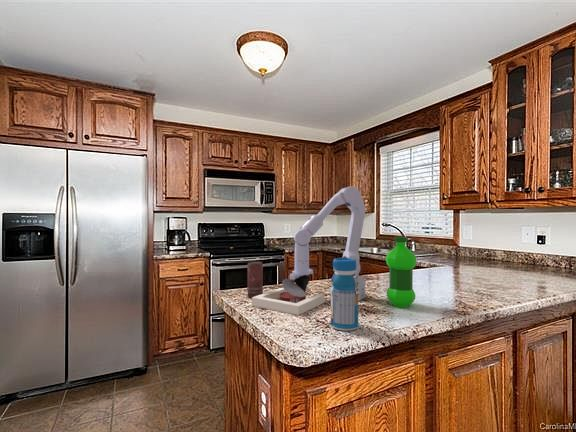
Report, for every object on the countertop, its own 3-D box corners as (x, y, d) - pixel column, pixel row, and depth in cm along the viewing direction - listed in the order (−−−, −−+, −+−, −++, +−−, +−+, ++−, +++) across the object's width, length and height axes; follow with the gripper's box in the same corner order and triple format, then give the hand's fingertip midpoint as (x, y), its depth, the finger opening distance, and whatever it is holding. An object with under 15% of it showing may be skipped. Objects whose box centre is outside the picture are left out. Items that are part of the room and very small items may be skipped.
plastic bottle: (403, 311, 110) (404, 238, 110) (380, 304, 119) (380, 236, 119) (422, 306, 116) (422, 237, 115) (398, 300, 124) (398, 235, 124)
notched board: (324, 302, 121) (324, 294, 121) (298, 315, 106) (298, 306, 106) (281, 294, 132) (281, 287, 132) (251, 305, 117) (251, 297, 117)
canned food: (295, 310, 126) (304, 286, 129) (305, 315, 117) (315, 289, 119) (270, 299, 123) (280, 275, 126) (278, 303, 114) (290, 277, 116)
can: (260, 299, 126) (260, 263, 126) (245, 298, 127) (245, 262, 127) (265, 295, 132) (265, 261, 132) (250, 294, 133) (250, 260, 133)
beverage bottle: (340, 333, 90) (340, 262, 90) (324, 324, 97) (324, 258, 97) (364, 329, 93) (365, 260, 93) (348, 320, 101) (348, 256, 101)
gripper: (302, 257, 135) (302, 289, 135) (282, 261, 123) (282, 297, 123) (317, 259, 131) (317, 292, 131) (298, 263, 119) (298, 300, 119)
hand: (301, 294), depth 127 cm, fingers closed
